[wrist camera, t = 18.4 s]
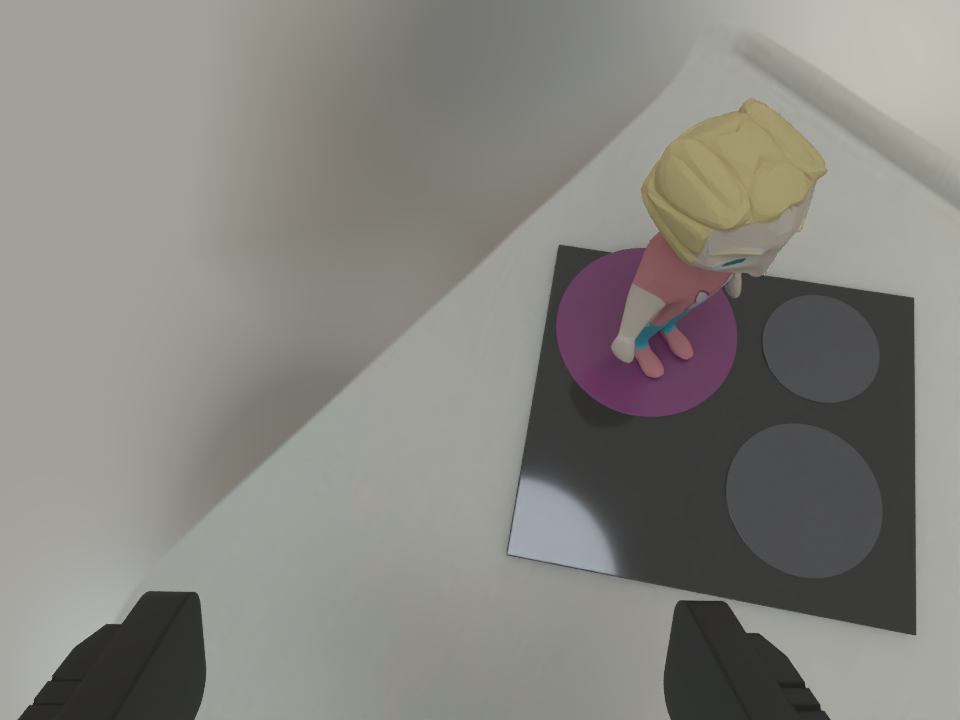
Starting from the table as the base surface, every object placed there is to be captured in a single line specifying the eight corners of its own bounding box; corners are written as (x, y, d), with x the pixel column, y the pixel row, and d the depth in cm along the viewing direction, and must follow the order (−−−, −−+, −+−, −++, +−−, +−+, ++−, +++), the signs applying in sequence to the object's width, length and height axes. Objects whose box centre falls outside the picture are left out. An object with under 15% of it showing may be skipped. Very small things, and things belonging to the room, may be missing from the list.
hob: (506, 554, 30) (506, 554, 29) (559, 239, 34) (560, 235, 34) (911, 634, 28) (917, 635, 28) (909, 291, 33) (915, 287, 32)
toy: (619, 406, 31) (714, 277, 17) (565, 328, 32) (610, 146, 18) (730, 338, 32) (911, 158, 18) (673, 264, 33) (798, 41, 19)
